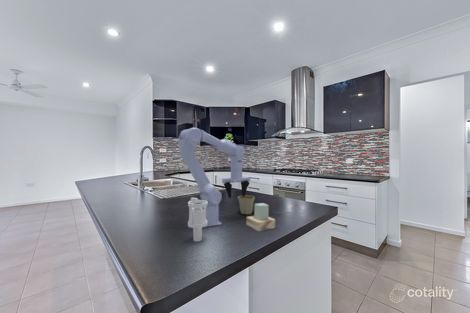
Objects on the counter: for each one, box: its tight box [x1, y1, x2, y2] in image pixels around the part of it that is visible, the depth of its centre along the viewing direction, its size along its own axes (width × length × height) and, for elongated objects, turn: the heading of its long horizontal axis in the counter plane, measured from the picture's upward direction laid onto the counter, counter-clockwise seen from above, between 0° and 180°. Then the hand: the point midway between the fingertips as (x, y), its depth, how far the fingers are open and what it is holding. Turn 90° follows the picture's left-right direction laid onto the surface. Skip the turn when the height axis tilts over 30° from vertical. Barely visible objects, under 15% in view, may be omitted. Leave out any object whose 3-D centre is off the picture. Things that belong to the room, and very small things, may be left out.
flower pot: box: [237, 194, 256, 215], centre depth 108 cm, size 9×9×9 cm
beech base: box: [245, 215, 276, 232], centre depth 88 cm, size 9×9×4 cm
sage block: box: [253, 202, 270, 220], centre depth 88 cm, size 4×4×6 cm
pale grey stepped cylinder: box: [187, 197, 208, 242], centre depth 73 cm, size 7×7×15 cm
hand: (236, 196), depth 100 cm, fingers open, 7 cm apart
